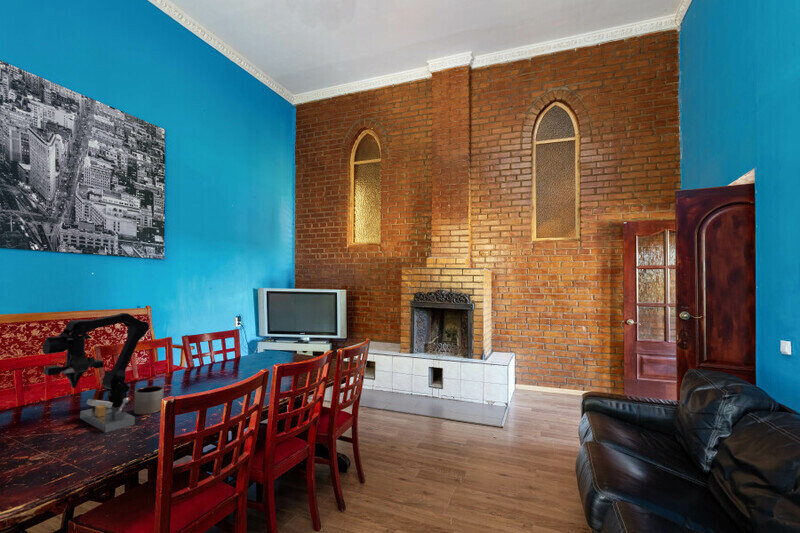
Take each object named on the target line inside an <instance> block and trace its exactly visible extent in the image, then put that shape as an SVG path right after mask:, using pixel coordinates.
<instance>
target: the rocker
mask: <svg viewBox="0 0 800 533" xmlns="http://www.w3.org/2000/svg"><path fill="white" fill-rule="evenodd" d="M112 404H113V403H111V402H109V401H107V400H99V399H91V398H88V399H87V401H86V405H88V406H91V407H92V406H100V405H105V406H106V407H109V408H111V406H112Z"/></svg>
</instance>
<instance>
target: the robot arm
mask: <svg viewBox="0 0 800 533" xmlns="http://www.w3.org/2000/svg"><path fill="white" fill-rule="evenodd" d="M121 323H122V324H123V325H124V326H125V327H127V330H126V340H125V341H124V345H123V346H122V349H121V351H120V353H119V355H118V358H117V360H116V362H115V364H114V366H113V368H112V369H111V370H110V371H108V370H106V371H105V372H104V376H103V378H102V379H101V382H102V383H101V384H102V386H103V387H104V388H105V390H106V392H107V395H106V401H109V402H111V403H113V404H112V407H114V408H117V407H121V405H122V403H123V399H124V398H127V393H128V392H129V390H130V389H131V388H130V386H129V385H128V384H127V383H125V381H126V378H127V377H126V375H127V374H126V370H127V367H128V366H129V363H130V361H131V360H132V359H131V358H132V357H133V354H134V352H135V350H136V348H137V346H138V343H139V341H140V340H141V339H143V338H144V337H145V336H146V334H147V332H148V331H149V328H150V325H149V323H148V322H146V321H144V320H140V319H138V318H137V317H134V316H132V315H131V314H129V313H126V312H121V313H117V314H112V315H108V316H103V317H98V318H97V317H96V318H93V319H73V320H70V321H68V322H67V323H66V324H65V328H64V329H63V330H62V331H61V332H60V333H59V335H58V336H46V337H45V340H44V341H43V344H42V353H43V354H44V355H52V354H59V353H61V354H62V353H64V352H65V356H66V358H65V359H66V361H65V363H64V364H65V366H60V365H57V364H56V365H49V366H45V367H44V368H43V374H44V375H45V376H48V377H49V376H55V375H57V376H58V375H60V374H63V375H65V376H66V377H67V379H68V381H69V383H70V384H69V385H70V386H71V388H72V389H75V388H76V387H77V385H78V384H79V381H80V380H81V379H80V378H82V377H83V374H85V373H88V371H89V368H94V369H103V368H104V366H105V363H104V361H103V360H100V359H96V358H95V356H90V357H87V356H86V351H85V349H86V347H85V346H86V340H90V339H92V336H90V335H89V334H88V333H90V332H92V331H94V330H96V329H99V328H104V327H108V326H112V325H117V324H121ZM127 405H129V402H127V403H126V404H125V405H124V406H127Z"/></svg>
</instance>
